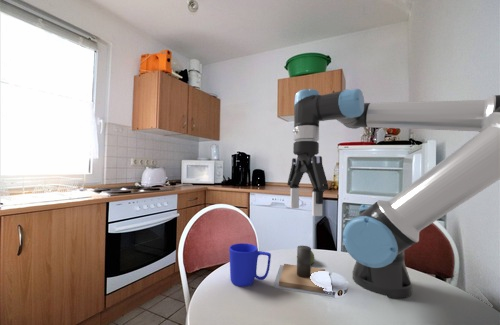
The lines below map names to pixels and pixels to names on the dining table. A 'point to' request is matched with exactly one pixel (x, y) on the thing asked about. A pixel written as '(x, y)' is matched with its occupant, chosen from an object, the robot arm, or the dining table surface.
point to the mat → (276, 285)
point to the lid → (300, 272)
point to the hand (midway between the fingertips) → (304, 211)
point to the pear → (312, 257)
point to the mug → (245, 264)
